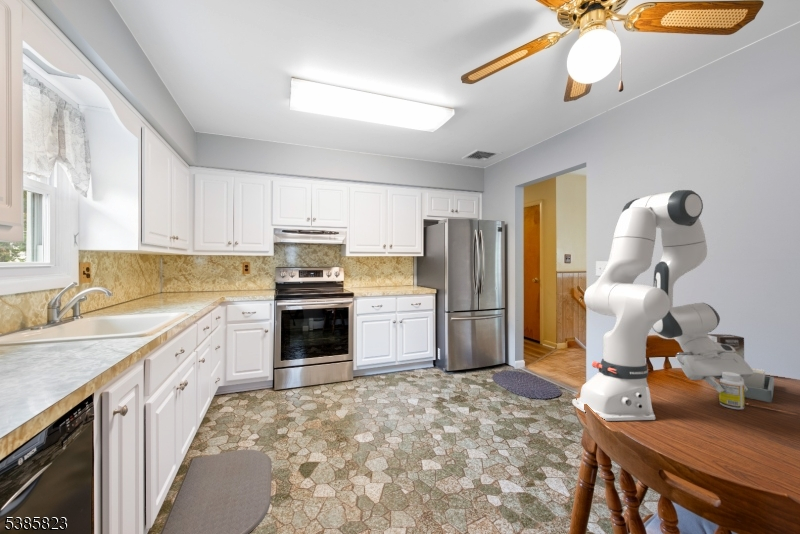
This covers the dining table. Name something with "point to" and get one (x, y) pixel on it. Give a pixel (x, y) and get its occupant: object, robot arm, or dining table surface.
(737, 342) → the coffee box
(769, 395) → the tray
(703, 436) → the dining table surface
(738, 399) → the supplement bottle
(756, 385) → the off-white plain cube block
